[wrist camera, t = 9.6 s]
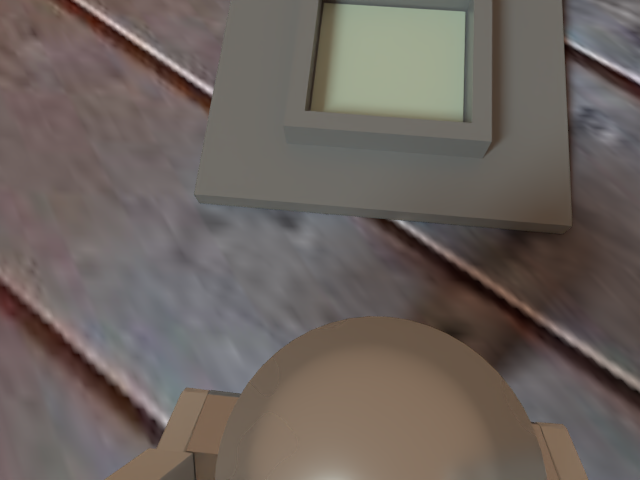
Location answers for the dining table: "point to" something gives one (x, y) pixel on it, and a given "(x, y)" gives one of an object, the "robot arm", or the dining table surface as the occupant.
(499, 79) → the grey holder tray
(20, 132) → the dining table surface
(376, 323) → the cylinder
